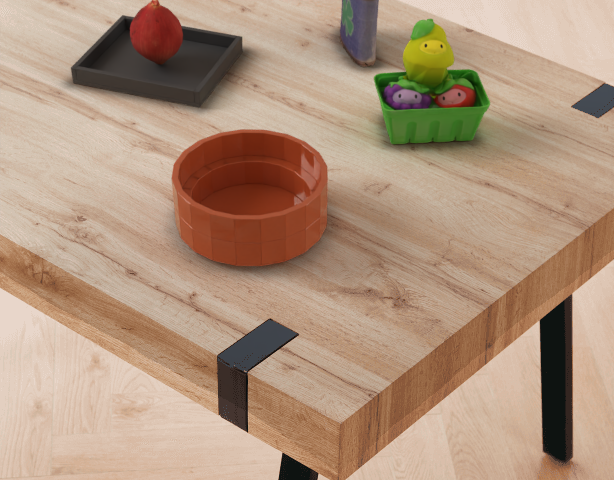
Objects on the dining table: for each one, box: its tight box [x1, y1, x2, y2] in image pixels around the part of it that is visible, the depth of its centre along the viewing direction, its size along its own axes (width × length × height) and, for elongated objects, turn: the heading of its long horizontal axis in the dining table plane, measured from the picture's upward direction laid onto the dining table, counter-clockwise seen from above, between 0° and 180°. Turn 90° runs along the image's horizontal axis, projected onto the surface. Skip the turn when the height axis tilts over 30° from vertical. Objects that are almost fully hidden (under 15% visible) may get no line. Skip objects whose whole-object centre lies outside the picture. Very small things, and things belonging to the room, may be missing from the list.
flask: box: [339, 0, 380, 68], centre depth 126 cm, size 9×3×11 cm, turn 16°
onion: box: [130, 0, 183, 64], centre depth 121 cm, size 6×6×8 cm
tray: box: [70, 14, 244, 109], centre depth 123 cm, size 15×13×2 cm
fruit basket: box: [373, 18, 491, 145], centre depth 113 cm, size 11×9×11 cm
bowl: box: [170, 128, 329, 267], centre depth 101 cm, size 14×14×6 cm
